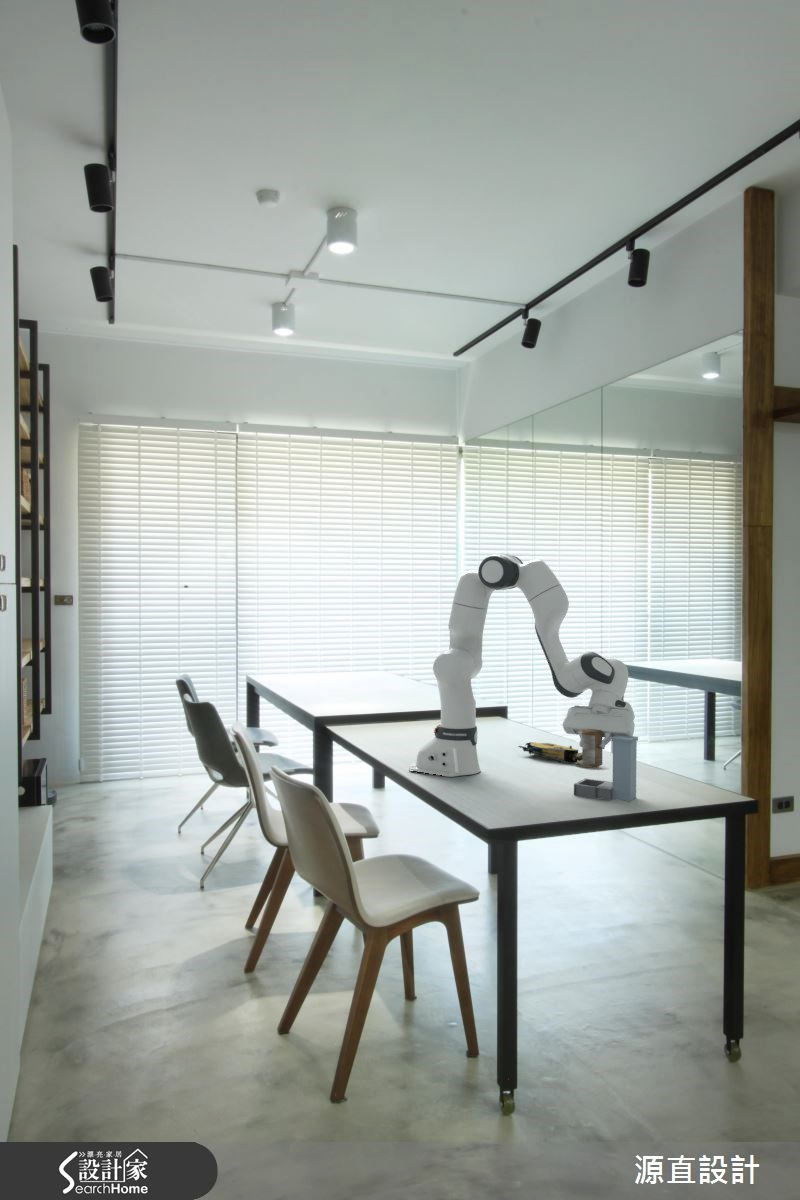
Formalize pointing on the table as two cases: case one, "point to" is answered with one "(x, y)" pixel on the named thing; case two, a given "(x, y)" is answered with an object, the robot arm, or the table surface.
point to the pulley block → (554, 752)
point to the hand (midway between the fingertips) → (591, 746)
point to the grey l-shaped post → (615, 774)
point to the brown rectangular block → (591, 748)
